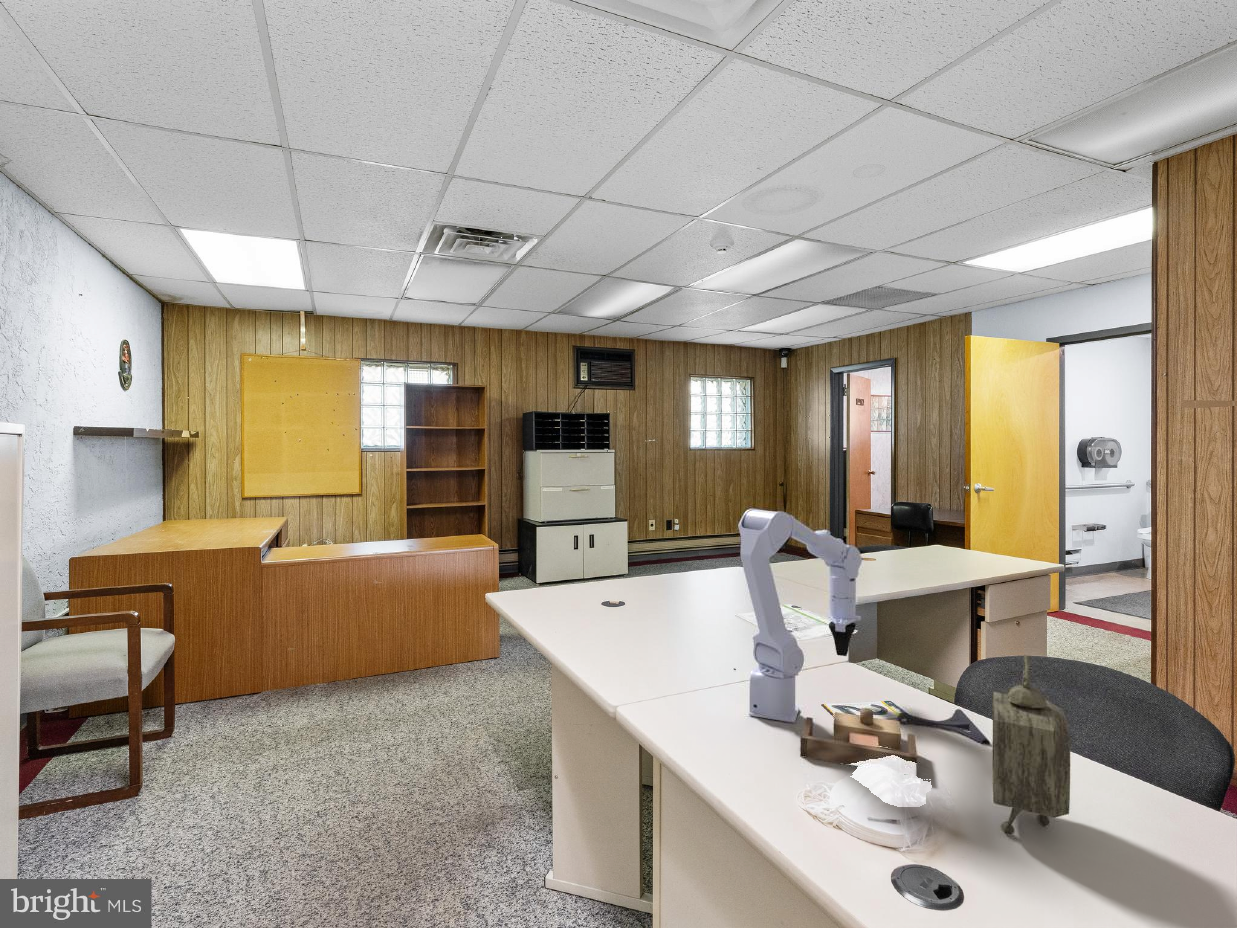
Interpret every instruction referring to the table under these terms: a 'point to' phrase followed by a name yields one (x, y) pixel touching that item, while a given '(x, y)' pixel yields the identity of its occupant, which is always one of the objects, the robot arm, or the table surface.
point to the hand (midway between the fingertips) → (842, 654)
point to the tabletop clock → (1030, 754)
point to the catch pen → (847, 748)
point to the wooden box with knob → (867, 728)
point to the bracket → (948, 725)
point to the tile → (864, 739)
